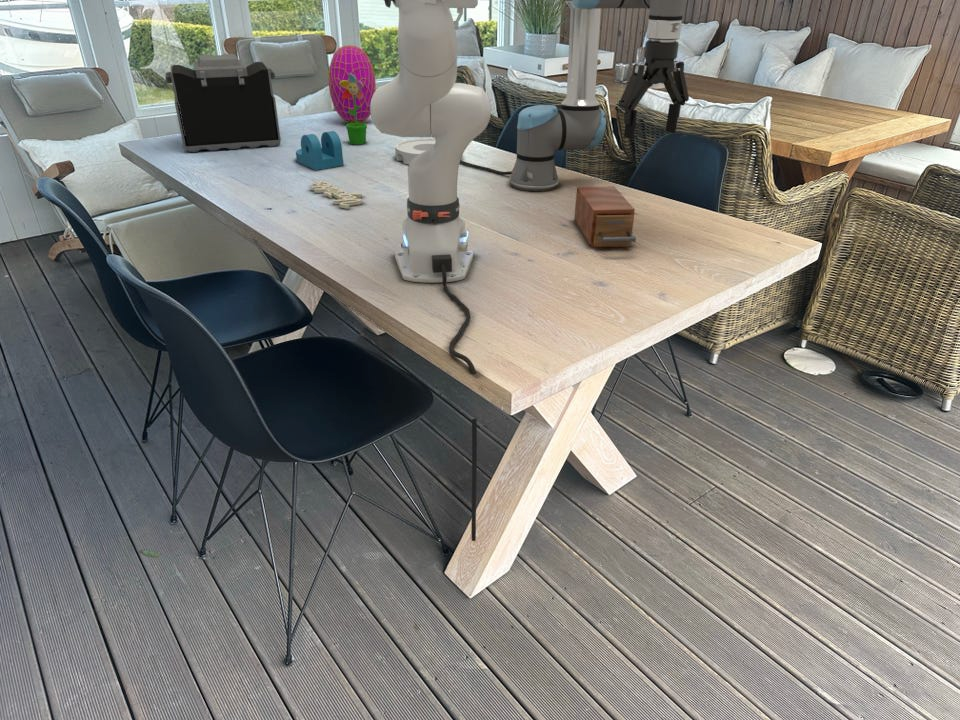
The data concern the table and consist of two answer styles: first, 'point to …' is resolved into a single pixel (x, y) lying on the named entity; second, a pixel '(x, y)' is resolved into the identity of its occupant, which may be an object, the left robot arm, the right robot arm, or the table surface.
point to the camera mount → (320, 151)
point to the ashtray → (412, 149)
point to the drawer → (614, 230)
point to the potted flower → (354, 129)
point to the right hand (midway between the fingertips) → (649, 135)
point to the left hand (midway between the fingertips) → (435, 29)
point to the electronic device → (225, 104)
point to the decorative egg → (340, 66)
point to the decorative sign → (337, 194)
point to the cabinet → (598, 208)
